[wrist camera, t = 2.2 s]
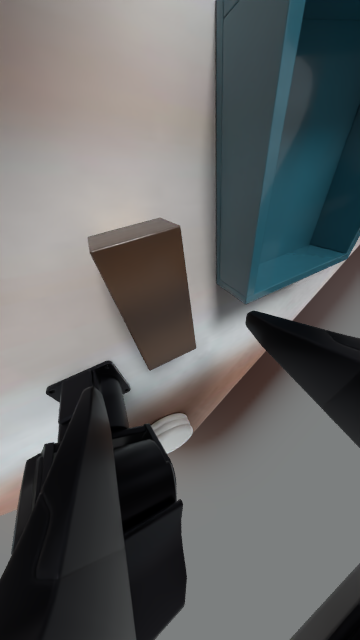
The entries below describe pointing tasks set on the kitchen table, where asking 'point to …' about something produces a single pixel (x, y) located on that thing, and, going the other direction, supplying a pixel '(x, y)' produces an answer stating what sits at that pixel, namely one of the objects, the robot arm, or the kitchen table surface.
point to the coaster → (172, 431)
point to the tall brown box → (148, 286)
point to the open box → (285, 141)
